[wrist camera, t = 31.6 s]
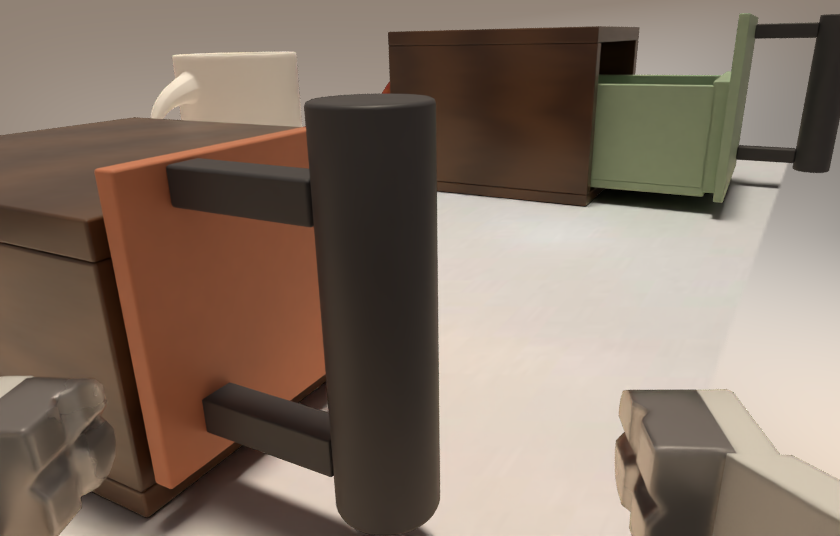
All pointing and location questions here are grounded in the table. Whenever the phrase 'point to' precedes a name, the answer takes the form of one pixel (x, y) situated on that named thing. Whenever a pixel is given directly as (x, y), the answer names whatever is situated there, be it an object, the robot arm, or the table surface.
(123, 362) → the cubby low
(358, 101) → the orange drawer
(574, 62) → the wooden drawer cabinet
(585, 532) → the table surface
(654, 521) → the robot arm
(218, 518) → the table surface
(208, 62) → the mug
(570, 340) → the table surface
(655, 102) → the green drawer
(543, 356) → the table surface
